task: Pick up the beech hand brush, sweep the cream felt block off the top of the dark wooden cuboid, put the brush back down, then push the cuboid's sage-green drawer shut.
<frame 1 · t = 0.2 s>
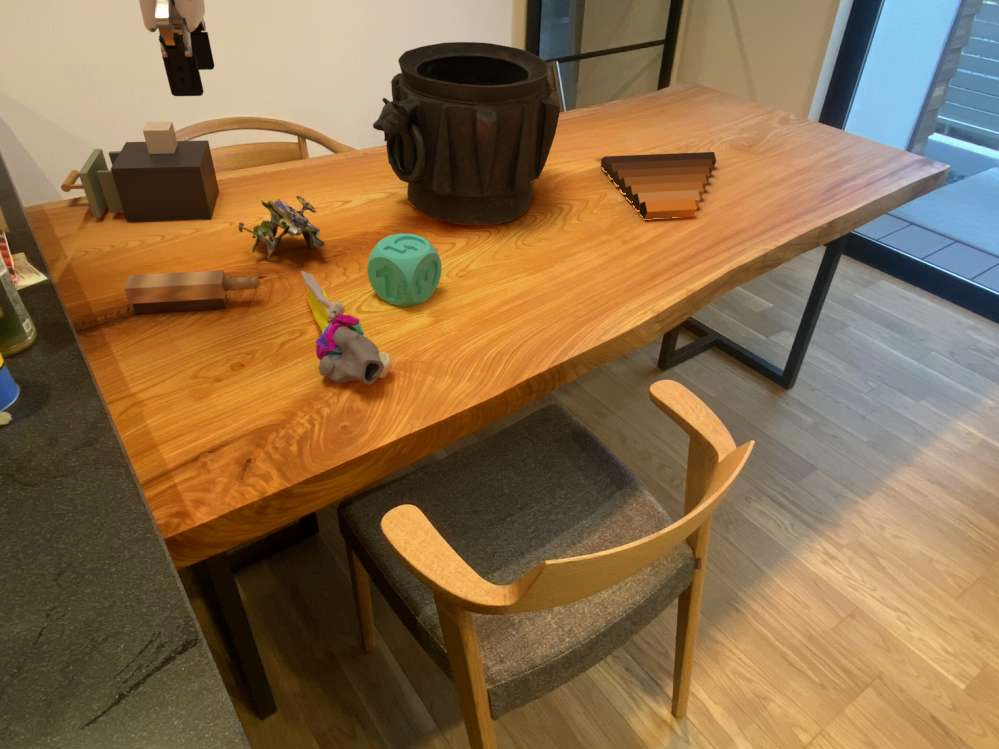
hand: (194, 81, 78), 32 cm above the table, tool pointing down, fingers open, 9 cm apart
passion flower: (287, 254, 113), on the table
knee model: (340, 345, 95), on the table
felt block: (163, 149, 119), point 10 cm above the table, touching dark wooden cuboid
dark wooden cuboid: (175, 206, 123), on the table
vessel: (470, 201, 132), on the table
decorative dice: (405, 293, 105), on the table
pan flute: (678, 191, 140), on the table
drawer: (120, 182, 119), point 5 cm above the table, slide at 4.0 cm
brush: (182, 306, 99), on the table
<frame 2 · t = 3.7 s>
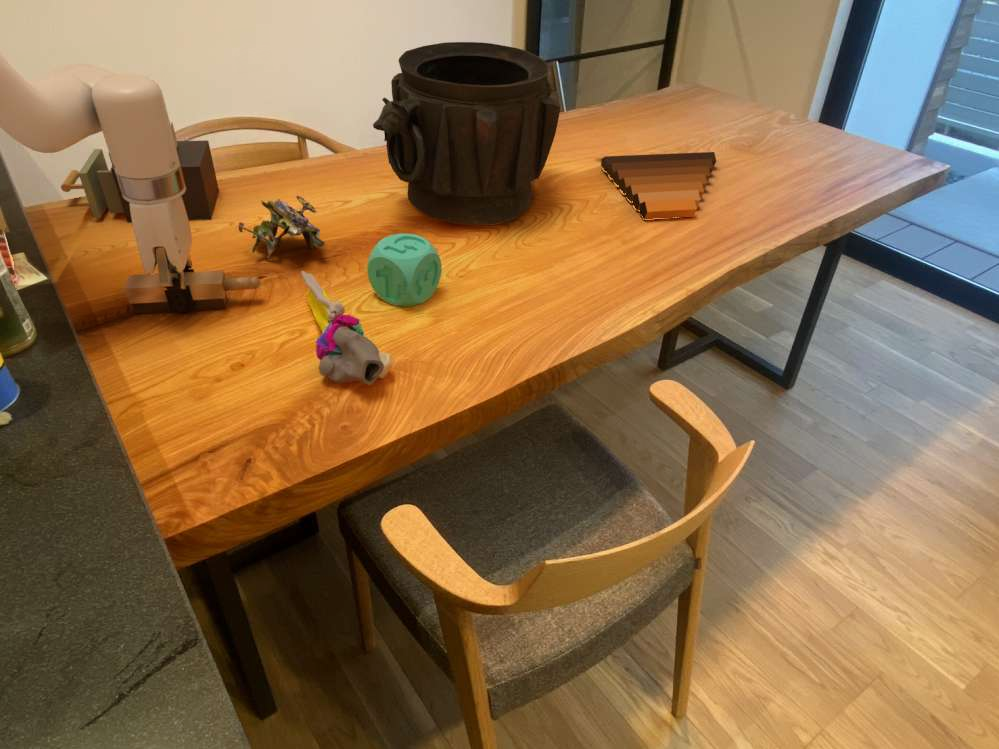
hand: (185, 301, 99), 1 cm above the table, tool pointing down, fingers closed on brush, 3 cm apart
brush: (182, 306, 99), on the table, touching gripper
everything else where it was.
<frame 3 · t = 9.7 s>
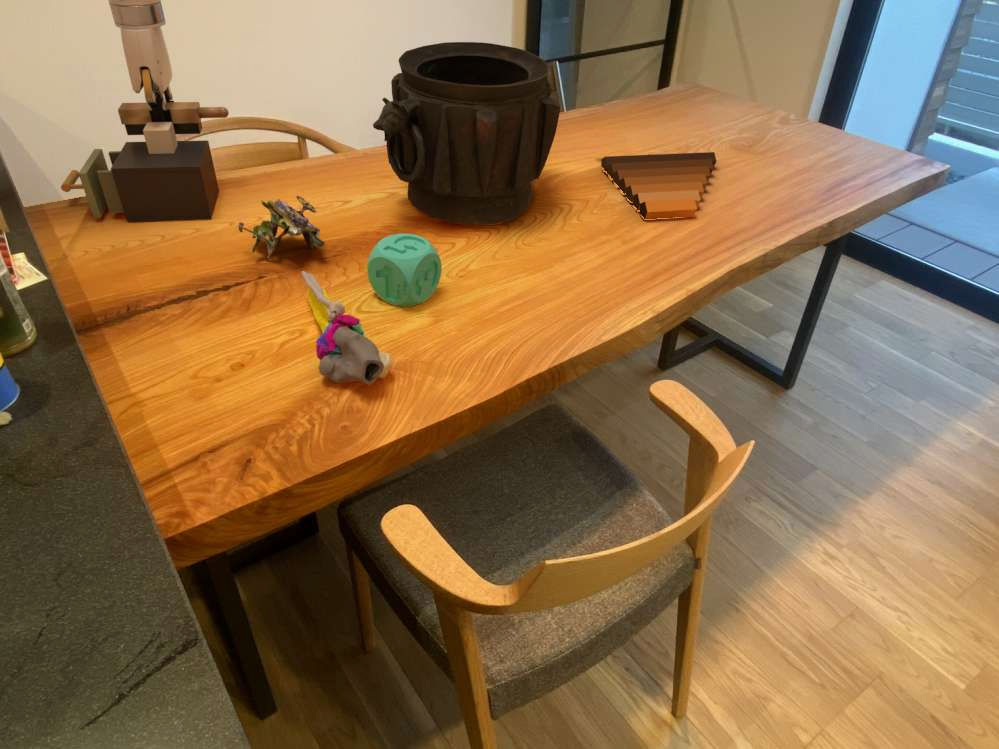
hand: (167, 127, 122), 11 cm above the table, tool pointing down, fingers closed on brush, 3 cm apart
felt block: (163, 149, 119), point 10 cm above the table, touching dark wooden cuboid, gripper
brush: (165, 131, 122), point 11 cm above the table, touching gripper
everything else where it was.
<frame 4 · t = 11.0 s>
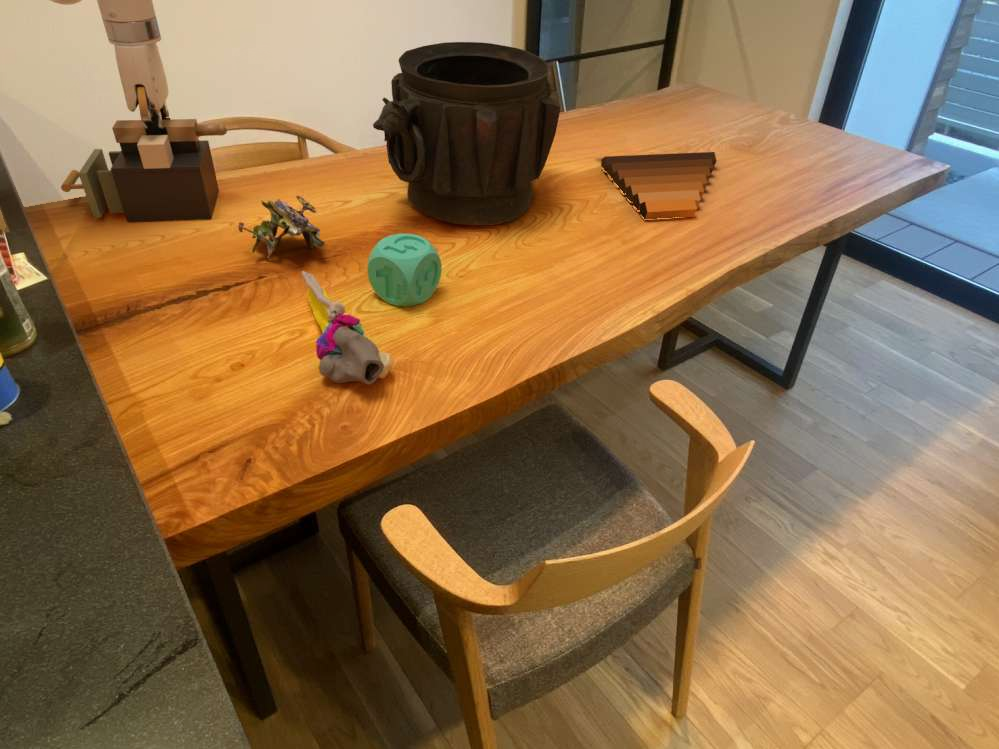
hand: (163, 145, 118), 10 cm above the table, tool pointing down, fingers closed on brush, 3 cm apart
felt block: (159, 163, 114), point 10 cm above the table, touching dark wooden cuboid, gripper
brush: (162, 149, 119), point 10 cm above the table, touching gripper
everything else where it was.
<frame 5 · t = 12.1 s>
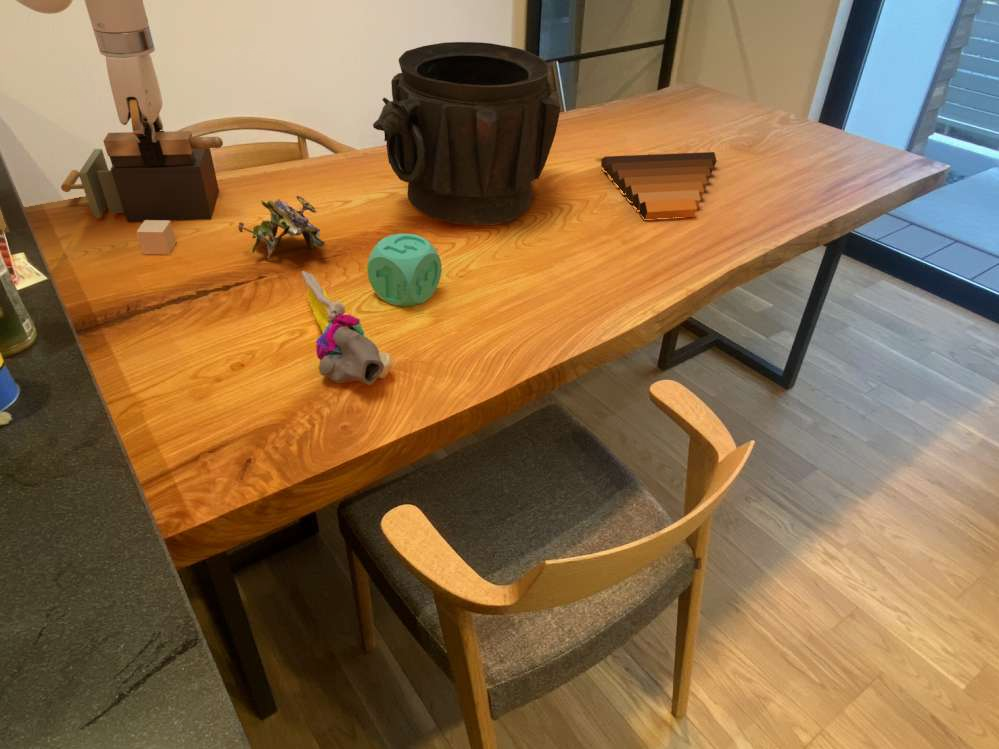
hand: (157, 159, 114), 10 cm above the table, tool pointing down, fingers closed on brush, 3 cm apart
felt block: (152, 243, 109), point 2 cm above the table, tilted 90°
brush: (155, 162, 114), point 10 cm above the table, touching gripper
everything else where it was.
when the fingers open (1 cm above the table, at t = 20.1 s): brush stays where it is, on the table.
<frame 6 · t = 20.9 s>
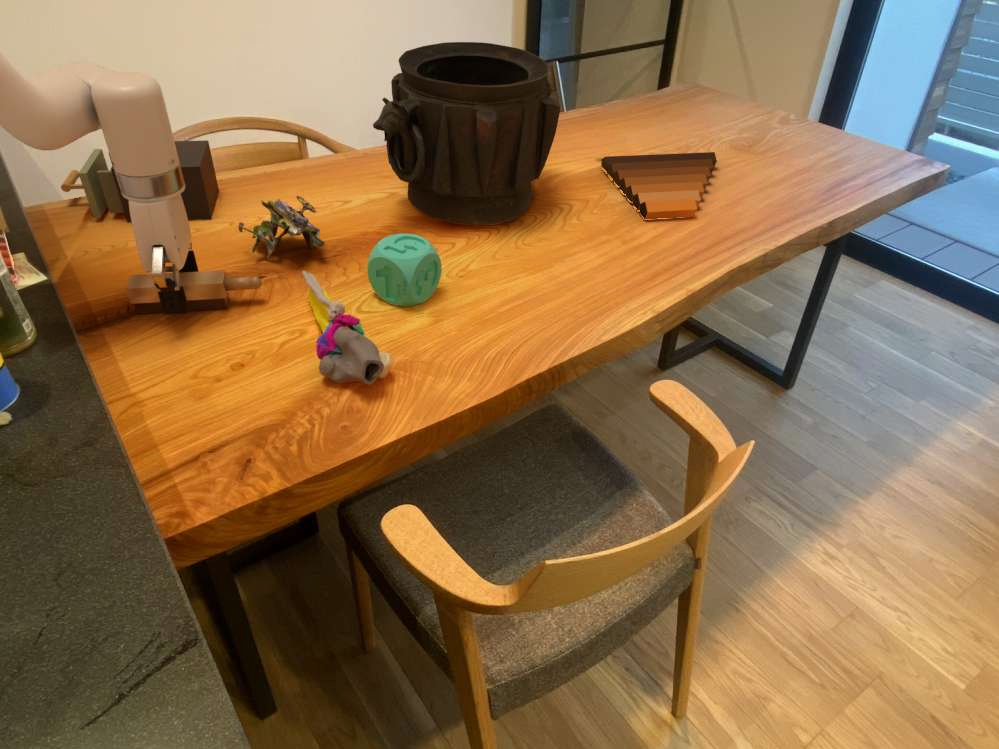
hand: (182, 293, 98), 2 cm above the table, tool pointing down, fingers open, 9 cm apart
brush: (184, 306, 100), on the table
everything else where it was.
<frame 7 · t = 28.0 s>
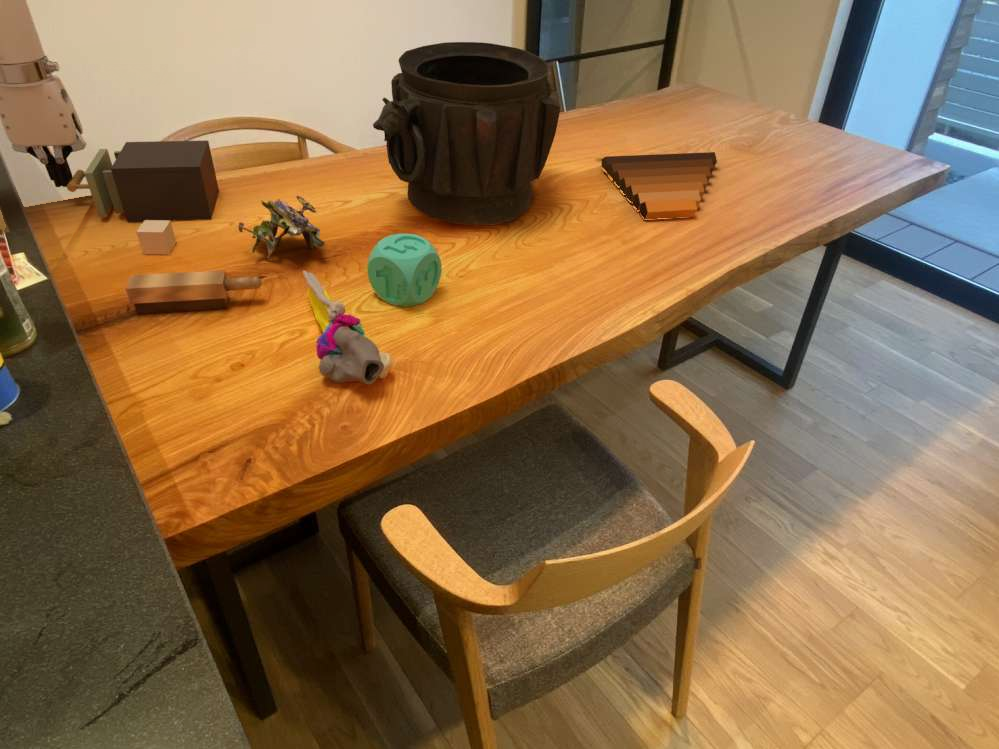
hand: (63, 183, 117), 5 cm above the table, tool pointing down, fingers closed
drawer: (125, 181, 119), point 5 cm above the table, slide at 3.1 cm, touching gripper
everything else where it was.
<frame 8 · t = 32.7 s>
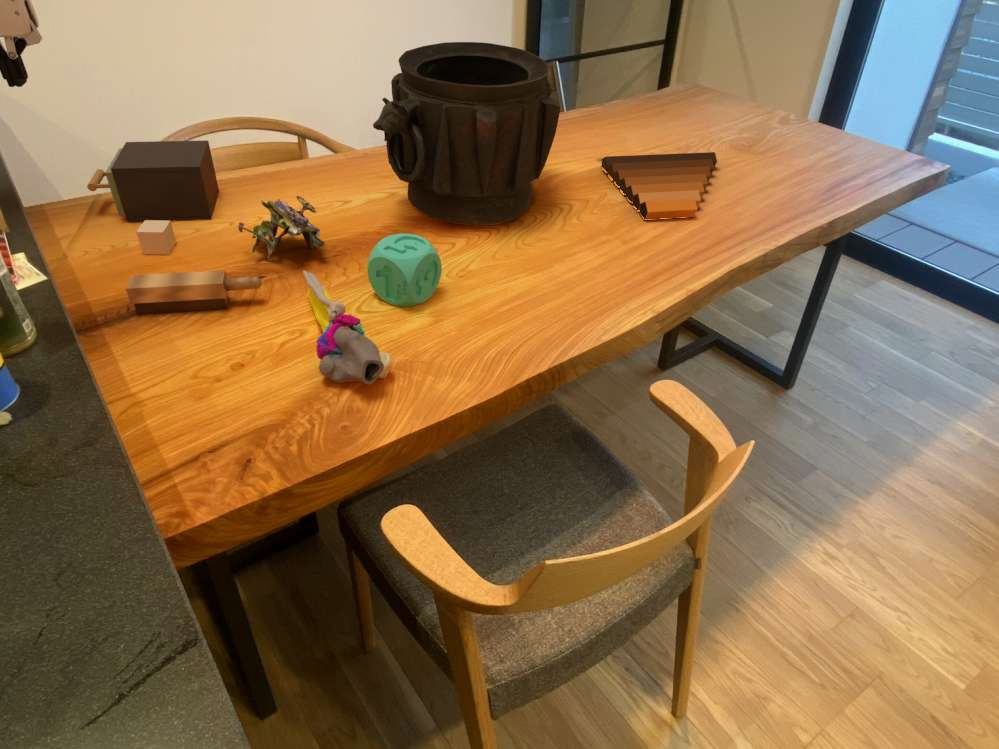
hand: (18, 84, 107), 21 cm above the table, tool pointing down, fingers closed
drawer: (145, 181, 120), point 5 cm above the table, slide at 0.0 cm, touching dark wooden cuboid
everything else where it was.
at the end: felt block point 2.0 cm above the table; drawer slide at 0.0 cm; the gripper is holding nothing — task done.
